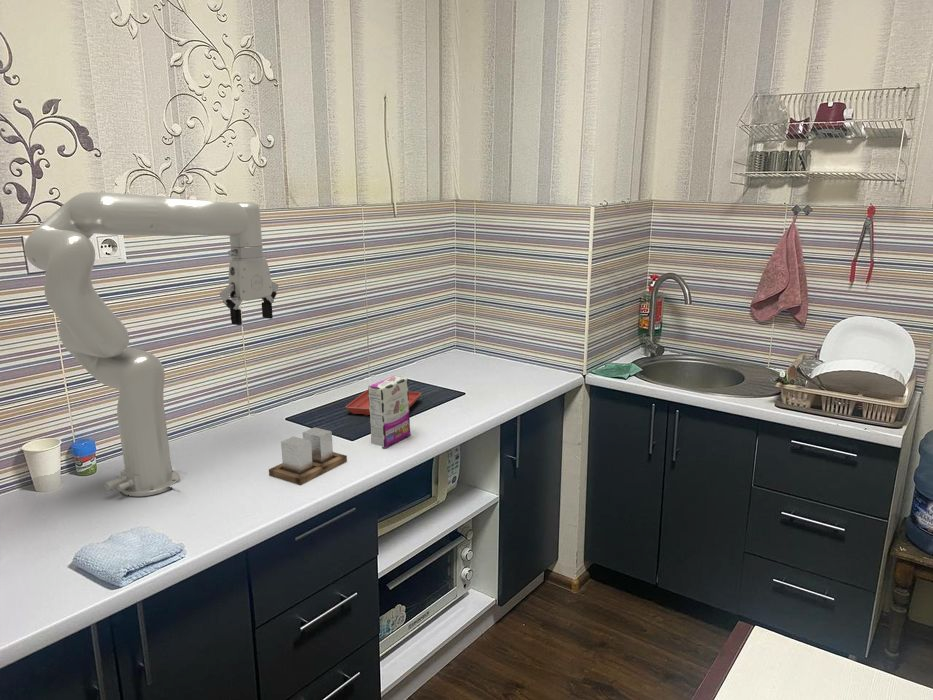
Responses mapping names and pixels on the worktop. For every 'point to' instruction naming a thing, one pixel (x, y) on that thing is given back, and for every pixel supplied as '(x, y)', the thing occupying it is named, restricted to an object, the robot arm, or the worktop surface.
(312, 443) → the billet
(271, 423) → the worktop surface
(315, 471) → the wooden divided tray
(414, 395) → the plant saucer
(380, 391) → the candy bar box
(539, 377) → the worktop surface
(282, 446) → the block
